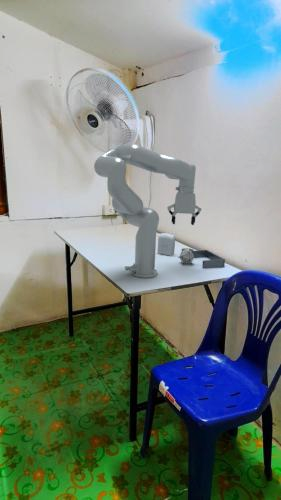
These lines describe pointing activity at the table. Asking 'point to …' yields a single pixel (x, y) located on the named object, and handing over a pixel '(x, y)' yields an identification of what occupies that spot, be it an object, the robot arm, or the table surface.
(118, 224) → the table surface
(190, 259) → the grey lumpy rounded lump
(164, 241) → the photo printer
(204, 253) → the chassis bay
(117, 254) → the table surface
